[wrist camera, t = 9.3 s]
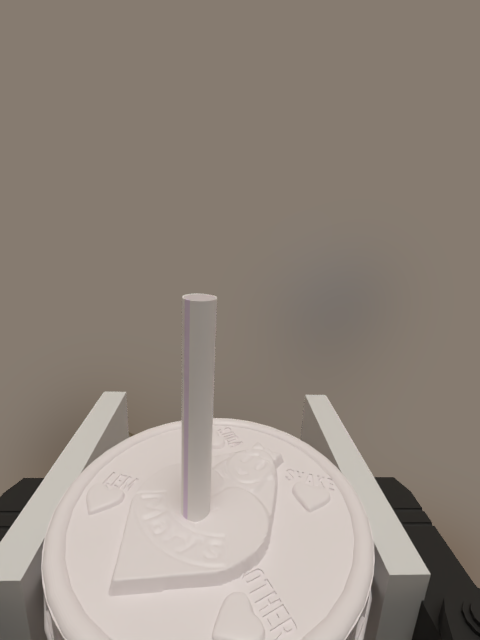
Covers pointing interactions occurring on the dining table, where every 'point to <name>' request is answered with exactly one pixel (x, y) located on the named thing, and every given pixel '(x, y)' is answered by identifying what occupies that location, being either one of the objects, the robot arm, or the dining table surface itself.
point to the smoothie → (208, 529)
